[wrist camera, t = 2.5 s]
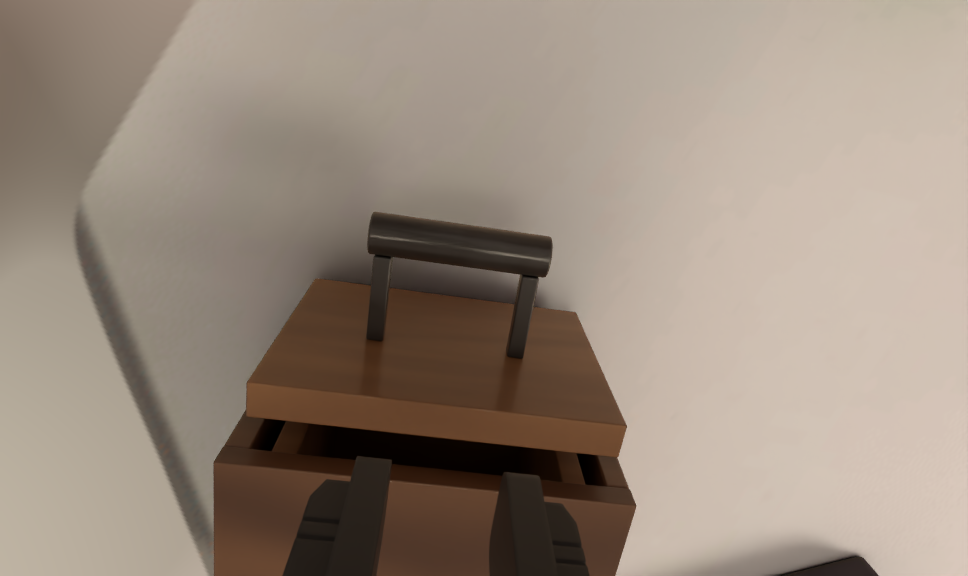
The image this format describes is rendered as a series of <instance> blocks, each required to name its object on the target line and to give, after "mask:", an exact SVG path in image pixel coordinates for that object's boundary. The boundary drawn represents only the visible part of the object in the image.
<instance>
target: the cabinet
mask: <svg viewBox="0 0 968 576" xmlns="http://www.w3.org/2000/svg"><path fill="white" fill-rule="evenodd" d="M285 422H286V421H282V420H273V419H264V418H255V417H247V416H246V411H245V412H244V414H243V416H242V417H241V419H240V421H239V422H238V424H237V425H236V427H235V429H234V430H233V432H232V434H231V435H230V437H229V439H228V440H227V442H226V443H225V445H224V447H223V448H222V450H221V451H220V453H219V454H218V456H217V458H216V459H215V461H214V576H282V575H283V572H284V569H285V566H286V563H287V561H288V558H289V555H290V552H291V549H292V546H293V543H294V540H295V538H296V536H297V532H298V529H299V526H300V523H301V521H302V518H303V514H304V511H305V508H306V506H307V503H308V500H309V497H310V495H311V494H312V493H313V492H314V491H315V490H316V489H317V488H318V487H319V486H320V485H321V484H322V483H323V482H324V481H325V480H326V479H330V480H340V481H350V480H351V476H352V472H353V468H354V465H355V461H356V460H349V459H340V458H331V457H321V456H312V455H302V454H293V453H283V452H274V451H272V449H273V447H274V445H275V443H276V441H277V439H278V437H279V435H280V432H281V430H282V428H283V426H284V424H285ZM576 454H577V457H578V460H579V464H580V467H581V471H582V474H583V478H584V481H585V484H576V483H567V482H557V481H548V480H541V486H542V491H543V496H544V502H552V503H562V504H563V505H564V507H565V508H566V509H567V511H568V512H569V513H570V515H571V516H572V517H573V519H574V520H575V521H576V523H577V527H578V531H579V535H580V539H581V543H582V546H581V547H582V548H583V551H584V555H585V559H586V566H587V567H588V571H589V575H590V576H615V575H616V571H617V568H618V565H619V562H620V558H621V555H622V552H623V548H624V545H625V542H626V539H627V535H628V532H629V529H630V526H631V522H632V519H633V516H634V512H635V509H636V504H635V501H634V499H633V496H632V493H631V491H630V489H629V487H628V485H627V482H626V479H625V477H624V474H623V472H622V469H621V467H620V464H619V461H618V459H617V457H608V456H599V455H590V454H581V453H576ZM501 479H502V476H500V475H491V474H482V473H472V472H463V471H453V470H444V469H434V468H425V467H416V466H406V465H397V464H392V466H391V474H390V483H389V491H388V499H387V507H386V515H385V523H384V530H383V537H382V544H381V551H380V557H379V563H378V569H377V575H376V576H490V572H489V544H490V534H491V528H492V523H493V518H494V513H495V508H496V503H497V498H498V494H499V489H500V484H501Z"/></svg>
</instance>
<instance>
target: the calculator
mask: <svg viewBox="0 0 968 576" xmlns="http://www.w3.org/2000/svg"><path fill="white" fill-rule="evenodd" d="M783 576H878V574H877V573H876V572H875V571H874V570H873V568H872V567H871V566H870V565H869V564H868V563H867V561H866V560H865V559H864V558H862V557H853V558H849V559H845V560H841V561H837V562H833V563H830V564H826V565H822V566H818V567H814V568H810V569H806V570H802V571H798V572H794V573H791V574H787V575H783Z"/></svg>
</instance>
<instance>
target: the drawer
mask: <svg viewBox="0 0 968 576" xmlns="http://www.w3.org/2000/svg"><path fill="white" fill-rule="evenodd" d="M552 248H553V245H552V239H551V237H549V236H542V235H535V234H528V233H521V232H514V231H507V230H500V229H493V228H486V227H479V226H472V225H465V224H458V223H451V222H443V221H436V220H429V219H422V218H415V217H408V216H401V215H394V214H387V213H380V212H373V214H372V216H371V220H370V225H369V232H368V242H367V250H368V253H369V254H375V256H374V259H373V269H372V279H371V285H364V284H356V283H349V282H341V281H333V280H326V279H318V278H316V279H315V280H314V281H313V283H312V284H311V286H310V287H309V289H308V290H307V292H306V294H305V295H304V297H303V298H302V300H301V301H300V303H299V304H298V306H297V307H296V309H295V310H294V312H293V313H292V315H291V316H290V318H289V319H288V321H287V322H286V324H285V325H284V327H283V328H282V330H281V331H280V333H279V334H278V336H277V337H276V339H275V340H274V342H273V343H272V345H271V347H270V348H269V350H268V351H267V353H266V354H265V356H264V357H263V359H262V360H261V362H260V363H259V365H258V366H257V368H256V369H255V371H254V372H253V374H252V375H251V377H250V378H249V380H248V381H247V393H246V416H247V417H255V418H264V419H273V420H282V421H286V422H285V424H284V426H283V428H282V430H281V432H280V435H279V437H278V439H277V441H276V443H275V445H274V447H273V449H272V451H274V452H283V453H293V454H302V455H312V456H321V457H331V458H340V459H349V460H356V458H357V456H362V457H371V458H380V459H390V460H392V464H397V465H406V466H416V467H425V468H434V469H444V470H453V471H463V472H472V473H482V474H491V475H500V476H502V475H503V473H504V472H510V473H519V474H529V475H538V476H539V477H540V480H548V481H557V482H567V483H576V484H585V481H584V478H583V474H582V471H581V467H580V464H579V460H578V457H577V454H576V453H581V454H590V455H599V456H608V457H618V456H619V452H620V449H621V445H622V442H623V438H624V435H625V431H626V428H627V425H626V423H625V421H624V419H623V416H622V414H621V412H620V410H619V407H618V405H617V403H616V401H615V399H614V396H613V394H612V392H611V390H610V387H609V385H608V383H607V381H606V379H605V376H604V374H603V372H602V370H601V367H600V365H599V363H598V361H597V358H596V356H595V354H594V352H593V350H592V347H591V345H590V343H589V341H588V338H587V336H586V334H585V332H584V330H583V327H582V325H581V323H580V321H579V318H578V316H577V314H576V313H575V312H569V311H561V310H554V309H546V308H538V307H534V302H535V297H536V292H537V287H538V282H539V278H538V277H546V275H547V274H548V271H549V268H550V264H551V258H552ZM393 257H397V258H404V259H411V260H419V261H426V262H433V263H441V264H448V265H455V266H463V267H470V268H477V269H485V270H492V271H499V272H507V273H514V274H520V277H519V283H518V288H517V293H516V299H515V304H508V303H500V302H493V301H485V300H478V299H470V298H462V297H455V296H447V295H440V294H432V293H425V292H417V291H409V290H402V289H394V288H390V280H391V271H392V262H393Z"/></svg>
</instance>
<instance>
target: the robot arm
mask: <svg viewBox="0 0 968 576" xmlns="http://www.w3.org/2000/svg"><path fill="white" fill-rule="evenodd" d="M391 466H392V460H390V459H380V458H371V457H362V456H357V458H356V461H355V465H354V468H353V472H352V476H351V480H350V481H340V480H330V479H326V480H325V481H324V482H323V483H322V484H321V485H320V486H319V487H318V488H317V489H316V490H315V491H314V492H313V493H312V494H311V495H310V497H309V500H308V503H307V506H306V508H305V511H304V514H303V518H302V521H301V523H300V526H299V529H298V532H297V536H296V538H295V540H294V543H293V546H292V549H291V552H290V555H289V558H288V561H287V563H286V566H285V569H284V572H283V575H282V576H376V575H377V569H378V563H379V557H380V551H381V544H382V537H383V530H384V523H385V515H386V507H387V499H388V491H389V483H390V474H391ZM581 546H582V543H581V539H580V535H579V531H578V527H577V523H576V521H575V520H574V519H573V517H572V516H571V515H570V513H569V512H568V511H567V509H566V508H565V507H564V505H563V504H562V503H552V502H544V496H543V491H542V486H541V480H540V477H539V476H538V475H529V474H519V473H510V472H504V473H503V475H502V479H501V484H500V489H499V494H498V498H497V503H496V508H495V513H494V518H493V523H492V528H491V534H490V544H489V572H490V576H590V575H589V571H588V567H587V566H586V559H585V555H584V551H583V548H582V547H581Z"/></svg>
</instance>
